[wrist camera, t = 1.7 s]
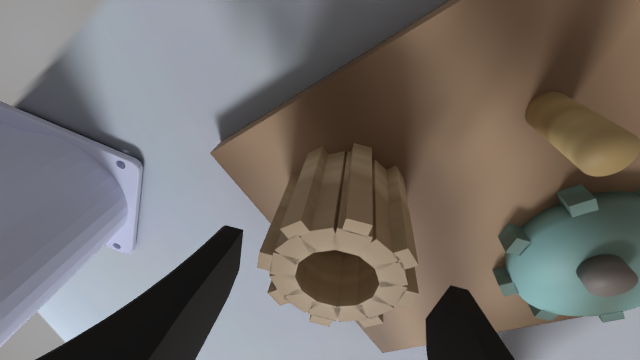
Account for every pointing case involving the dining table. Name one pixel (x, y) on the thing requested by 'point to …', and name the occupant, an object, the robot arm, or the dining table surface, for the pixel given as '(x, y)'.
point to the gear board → (486, 155)
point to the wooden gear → (342, 240)
